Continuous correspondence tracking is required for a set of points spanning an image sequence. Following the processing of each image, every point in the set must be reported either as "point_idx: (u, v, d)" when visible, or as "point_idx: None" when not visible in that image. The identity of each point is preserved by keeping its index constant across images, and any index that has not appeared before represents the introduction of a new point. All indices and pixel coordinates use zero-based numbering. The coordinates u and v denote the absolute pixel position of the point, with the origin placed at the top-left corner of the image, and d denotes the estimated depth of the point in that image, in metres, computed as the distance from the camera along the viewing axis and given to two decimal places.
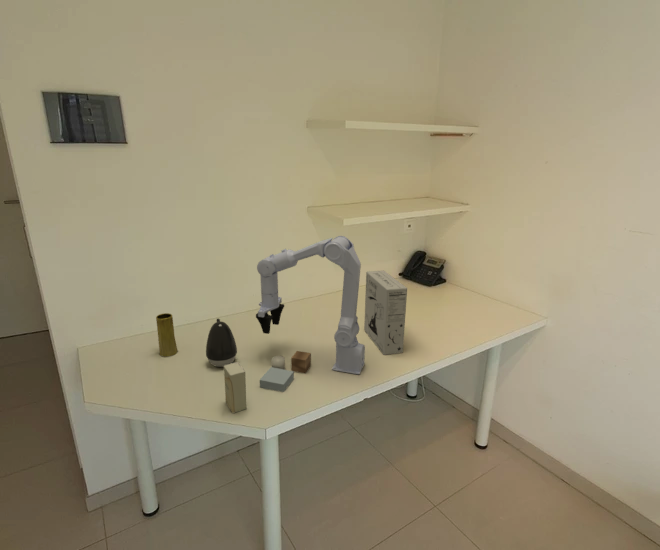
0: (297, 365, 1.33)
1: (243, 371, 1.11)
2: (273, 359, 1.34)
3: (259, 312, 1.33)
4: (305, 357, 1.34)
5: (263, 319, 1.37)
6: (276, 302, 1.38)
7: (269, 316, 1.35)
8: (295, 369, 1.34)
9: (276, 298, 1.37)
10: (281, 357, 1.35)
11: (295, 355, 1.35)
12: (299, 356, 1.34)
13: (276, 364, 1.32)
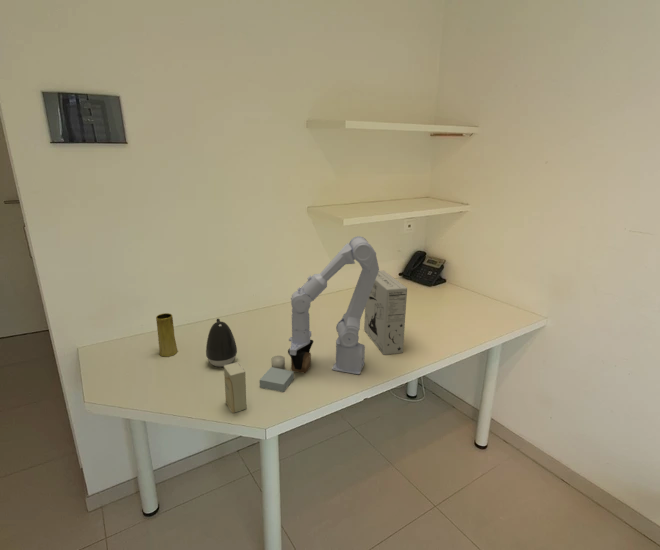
0: None
1: (243, 371, 1.11)
2: (273, 359, 1.34)
3: (291, 350, 1.27)
4: (305, 357, 1.33)
5: (295, 355, 1.31)
6: (307, 338, 1.31)
7: (302, 352, 1.29)
8: (295, 369, 1.34)
9: (308, 334, 1.31)
10: (281, 357, 1.35)
11: None
12: None
13: (276, 364, 1.32)
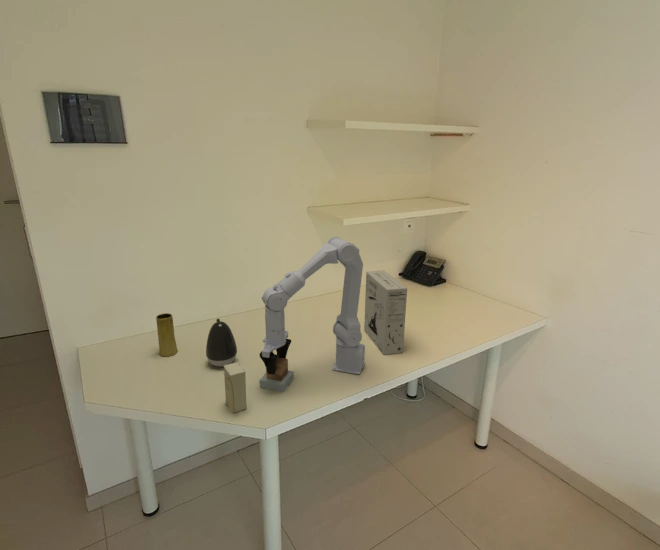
0: None
1: (243, 371, 1.11)
2: None
3: (263, 352, 1.17)
4: (281, 363, 1.24)
5: (268, 358, 1.21)
6: (282, 339, 1.22)
7: (275, 356, 1.19)
8: (270, 376, 1.25)
9: (282, 335, 1.21)
10: None
11: None
12: None
13: None
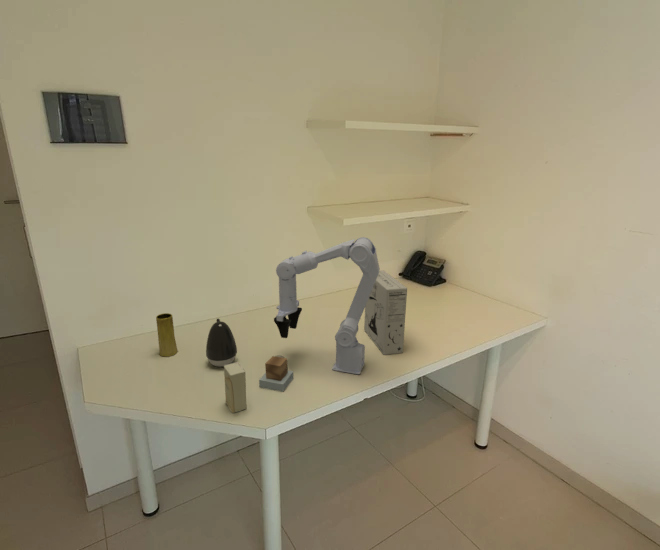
0: (271, 371, 1.24)
1: (243, 371, 1.11)
2: None
3: (278, 316, 1.29)
4: (280, 362, 1.24)
5: (281, 323, 1.33)
6: (294, 306, 1.34)
7: (288, 320, 1.31)
8: (270, 376, 1.25)
9: (295, 301, 1.34)
10: (281, 357, 1.35)
11: (270, 361, 1.26)
12: (273, 362, 1.25)
13: None
